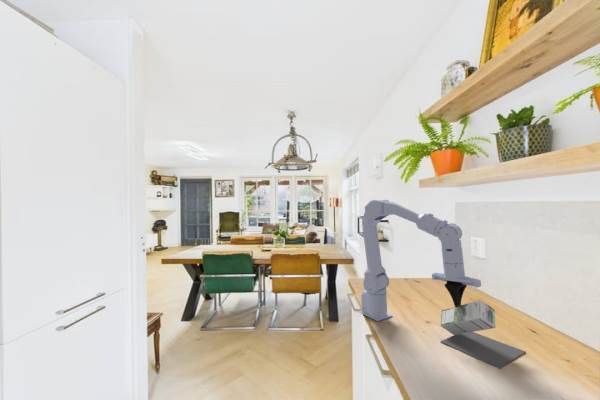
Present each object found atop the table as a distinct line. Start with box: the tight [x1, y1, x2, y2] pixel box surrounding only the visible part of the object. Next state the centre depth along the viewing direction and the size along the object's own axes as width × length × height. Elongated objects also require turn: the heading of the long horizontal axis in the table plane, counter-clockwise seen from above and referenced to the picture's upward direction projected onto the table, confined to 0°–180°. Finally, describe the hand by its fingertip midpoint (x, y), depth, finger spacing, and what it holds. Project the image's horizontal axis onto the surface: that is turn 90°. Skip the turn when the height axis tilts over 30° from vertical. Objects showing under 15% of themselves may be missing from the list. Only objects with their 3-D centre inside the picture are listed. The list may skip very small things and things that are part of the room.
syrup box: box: [440, 299, 497, 336], centre depth 83 cm, size 6×6×14 cm
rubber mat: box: [440, 331, 527, 369], centre depth 80 cm, size 16×14×1 cm
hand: (457, 306), depth 86 cm, fingers closed, pressing on syrup box
